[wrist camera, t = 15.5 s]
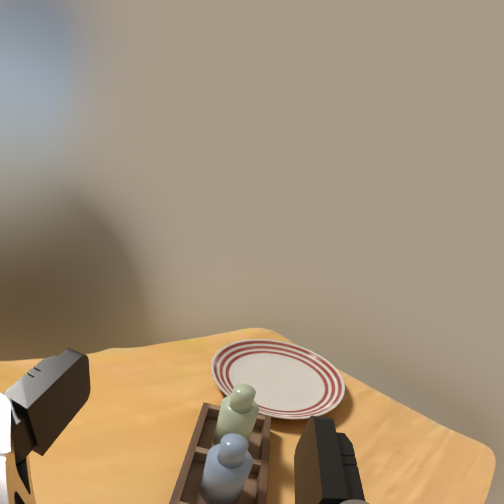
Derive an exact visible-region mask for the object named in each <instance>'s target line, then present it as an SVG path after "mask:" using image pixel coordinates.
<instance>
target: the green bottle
mask: <svg viewBox="0 0 504 504" xmlns="http://www.w3.org/2000/svg"><path fill="white" fill-rule="evenodd" d="M255 394H256V391H255V389H254V388H253V387H252V386H250V385H248V384H237V385H235V386H234V388H233V392H232V395H230V396H227V397H225V398H224V399H223V400H222V403H221V407H220V412H219V416H218V421H217V425H216V430H215V434H214V438H213V443H214V446H215V445H217V444H220V442H221V439H222V437H223V436H225V435H226V434H231V433H233V434H239V435H241V436H243V437H245V438H246V439H247V441H248V443H249V440H250V437H251V434H252V431H253V428H254V425H255V422H256V419H257V415H258V412H259V407H258V405H257V403H256V402H255V401H254V397H255Z"/></svg>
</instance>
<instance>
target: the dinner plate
mask: <svg viewBox="0 0 504 504" xmlns="http://www.w3.org/2000/svg"><path fill="white" fill-rule="evenodd" d="M211 373H212V376H213V379H214V381H215V383H216V384H217V386H218V387H219V388H220V390H221V391H222V392H223V393H224V394H225V395H226V396H230V395H232V392H233V388H234V386H235V385H237V384H248V385H250V386H252V387H253V388H254V389H255V391H256V394H255V397H254V401H255V402H256V403H257V405H258V407H259V412H258V413H259V414H262V415H265V416H269V417H274V418H281V419H308V418H310V416H312V415H313V416H321V415H323V414H326V413H328V412H330V411H331V410H333V409H334V408H335V407H337V406H338V405H339V403H340V402H341V401H342V399H343V397H344V393H345V384H344V380H343V378H342V376H341V374H340V373H339V371H338V370H337V369H336V368H335V367H334V366H333V365H332V364H331V363H330V362H328V361H327V360H326V359H324V358H323V357H321V356H320V355H318V354H316V353H314V352H312V351H310V350H308V349H305V348H303V347H300V346H297V345H294V344H291V343H287V342H282V341H277V340H269V339H248V340H241V341H237V342H233V343H231V344H228V345H226V346H224V347H223V348H221V349H220V350H219V351H218V352H217V353H216V354H215V355H214V357H213V359H212V362H211Z"/></svg>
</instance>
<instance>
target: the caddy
mask: <svg viewBox="0 0 504 504" xmlns="http://www.w3.org/2000/svg"><path fill="white" fill-rule="evenodd" d="M220 407H221V406H216V405H212V404H208V403H203V406H202V409H201V412H200V415H199V418H198V421H197V424H196V427H195V430H194V432H193V435H192V438H191V441H190V444H189V447H188V450H187V453H186V456H185V459H184V462H183V465H182V468H181V471H180V474H179V476H178V479H177V482H176V485H175V488H174V491H173V494H172V497H171V500H170V503H169V504H208V503H206V502H205V501H204V500H203V499H202V497H201V495H200V486H201V482H202V477H203V472H204V468H205V463H206V458H207V454H208V451H209V450H210V449H211V448H212V447H213V446H214V443H213V438H214V434H215V430H216V425H217V421H218V416H219V412H220ZM270 426H271V417H269V416H264V415H257V419H256V422H255V425H254V428H253V431H252V434H251V437H250V440H249V447H248V450H247V451H248V452H249V453H250V454H251V456H252V459H253V465H252V468H251V471H250V473H249V476H248V478H247V481H246V483H245V486H244V488H243V491H242V493H241V496H240V498H239V500H238V502H237V503H236V504H266V496H267V480H268V463H269V445H270Z"/></svg>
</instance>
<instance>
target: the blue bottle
mask: <svg viewBox="0 0 504 504" xmlns="http://www.w3.org/2000/svg"><path fill="white" fill-rule="evenodd" d="M248 447H249V443H248V441H247V439H246V438H245V437H243V436H241V435H239V434H233V433H231V434H226V435H225V436H223V437H222V439H221V442H220V444H217V445H215V446H213V447H212V448H211V449H210V450H209V451H208V454H207V458H206V463H205V468H204V472H203V477H202V482H201V486H200V495H201V497H202V499H203V500H204V501H205V502H206V503H208V504H236V503H237V502H238V500H239V498H240V496H241V493H242V491H243V488H244V486H245V483H246V481H247V478H248V476H249V473H250V471H251V468H252V465H253V459H252V456H251V454H250V453H249V452H248V451H247V450H248Z"/></svg>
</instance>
